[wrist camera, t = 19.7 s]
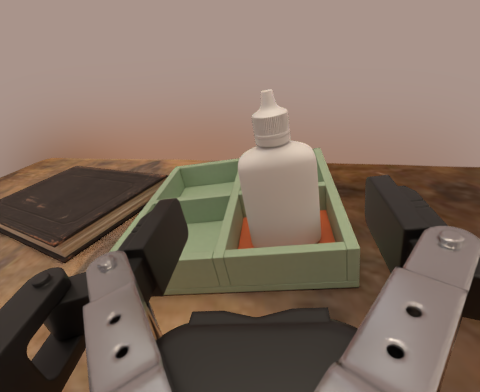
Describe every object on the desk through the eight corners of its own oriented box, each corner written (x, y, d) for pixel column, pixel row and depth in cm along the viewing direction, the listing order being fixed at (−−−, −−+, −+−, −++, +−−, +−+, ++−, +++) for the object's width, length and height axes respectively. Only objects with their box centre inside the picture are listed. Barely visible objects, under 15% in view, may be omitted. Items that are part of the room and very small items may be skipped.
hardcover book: (64, 263, 28) (52, 245, 27) (-17, 224, 40) (-27, 210, 39) (173, 188, 39) (169, 173, 38) (84, 175, 51) (79, 164, 50)
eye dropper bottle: (267, 220, 26) (245, 87, 21) (327, 230, 24) (320, 79, 18) (244, 248, 23) (212, 102, 18) (310, 265, 20) (295, 95, 15)
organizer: (115, 297, 22) (98, 265, 21) (182, 189, 38) (175, 166, 37) (359, 287, 19) (360, 248, 17) (321, 173, 35) (320, 147, 33)
